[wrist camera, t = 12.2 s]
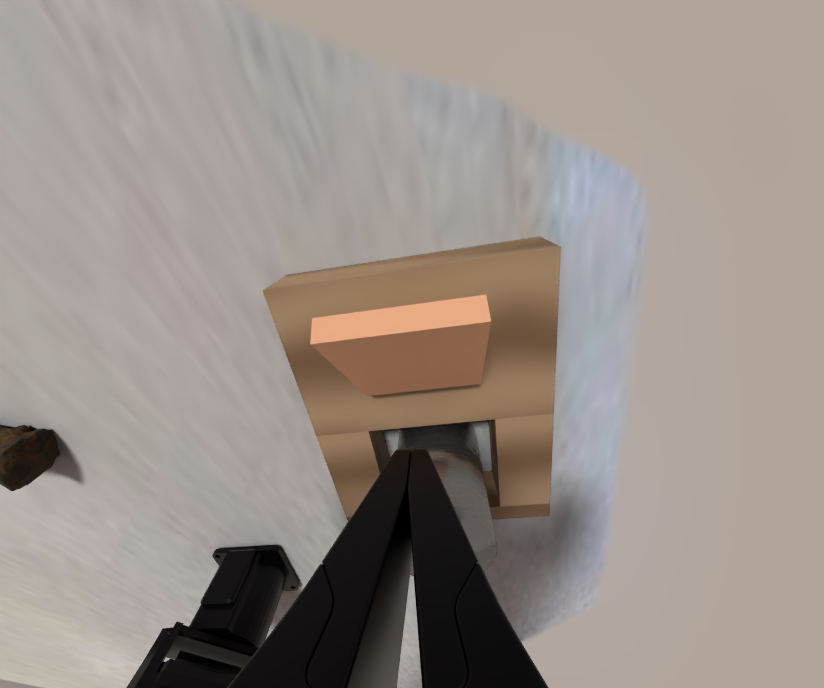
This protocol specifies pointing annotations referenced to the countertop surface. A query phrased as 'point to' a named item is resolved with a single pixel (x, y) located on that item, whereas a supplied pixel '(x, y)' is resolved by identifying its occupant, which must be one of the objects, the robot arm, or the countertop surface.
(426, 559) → the robot arm
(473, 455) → the peg
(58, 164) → the countertop surface
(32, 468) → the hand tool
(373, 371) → the pink flat plate
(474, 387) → the hole plate
